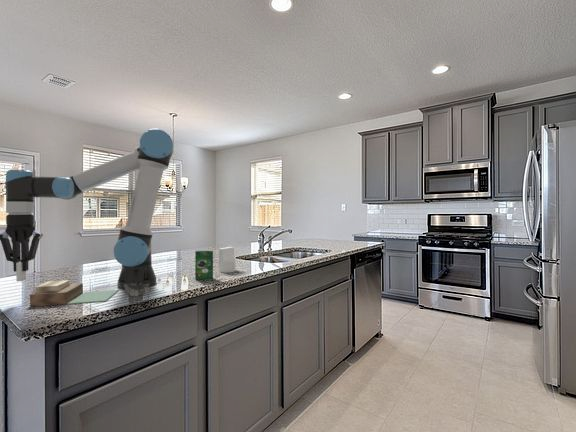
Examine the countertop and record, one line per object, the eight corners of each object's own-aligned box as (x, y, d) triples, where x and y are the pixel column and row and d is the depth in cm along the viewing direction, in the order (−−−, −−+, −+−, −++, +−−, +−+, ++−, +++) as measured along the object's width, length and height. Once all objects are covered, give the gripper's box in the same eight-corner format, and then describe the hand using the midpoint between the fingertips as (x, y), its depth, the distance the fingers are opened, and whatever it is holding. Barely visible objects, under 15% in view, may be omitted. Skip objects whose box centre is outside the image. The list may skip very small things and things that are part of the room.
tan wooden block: (83, 293, 123) (82, 283, 123) (67, 303, 110) (66, 292, 110) (50, 295, 121) (50, 285, 121) (30, 306, 107) (29, 294, 107)
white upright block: (227, 273, 160) (226, 249, 159) (214, 271, 164) (213, 248, 164) (239, 270, 167) (238, 247, 167) (226, 268, 172) (225, 246, 172)
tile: (69, 285, 120) (69, 280, 120) (58, 291, 111) (58, 285, 111) (48, 286, 118) (48, 281, 118) (35, 292, 110) (35, 286, 110)
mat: (118, 290, 127) (118, 289, 127) (106, 301, 112) (106, 300, 112) (85, 292, 125) (85, 291, 125) (67, 304, 109) (67, 303, 109)
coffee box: (213, 277, 149) (212, 249, 149) (213, 278, 147) (213, 250, 146) (195, 279, 147) (194, 250, 147) (195, 280, 144) (194, 251, 144)
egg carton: (151, 294, 122) (150, 283, 121) (129, 298, 117) (129, 287, 117) (143, 289, 130) (143, 279, 130) (123, 292, 125) (122, 282, 125)
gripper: (46, 213, 117) (47, 277, 118) (5, 214, 114) (6, 279, 115) (35, 213, 110) (36, 281, 110) (-9, 214, 107) (-8, 283, 107)
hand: (21, 280), depth 112 cm, fingers closed
